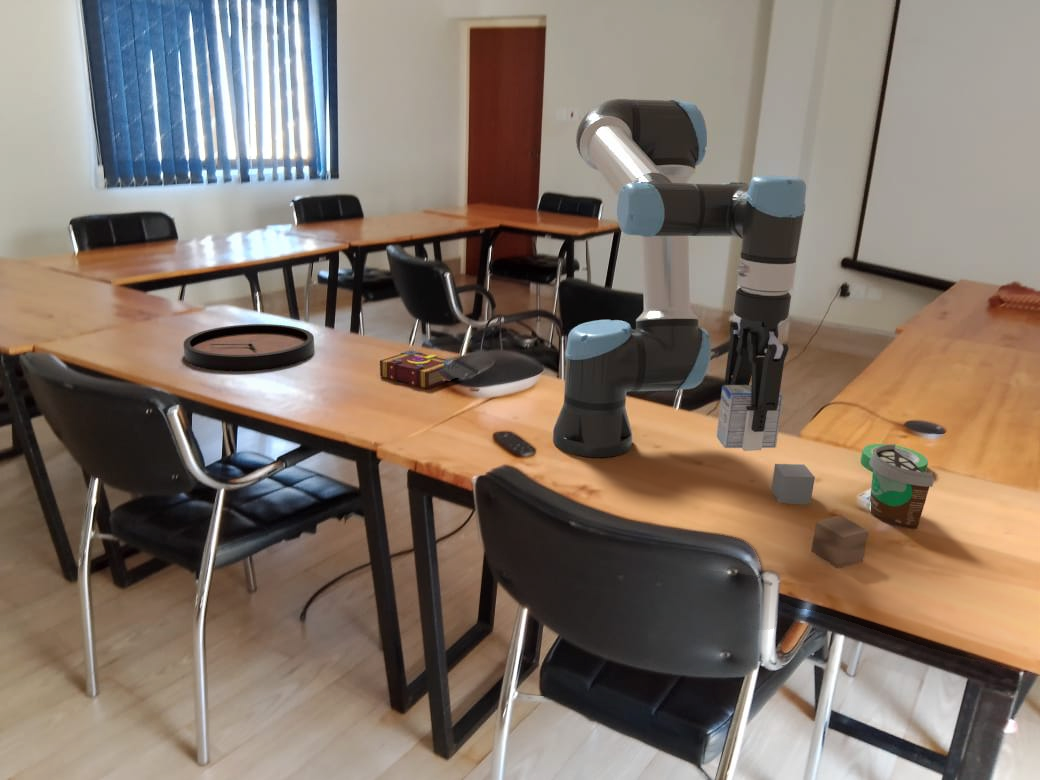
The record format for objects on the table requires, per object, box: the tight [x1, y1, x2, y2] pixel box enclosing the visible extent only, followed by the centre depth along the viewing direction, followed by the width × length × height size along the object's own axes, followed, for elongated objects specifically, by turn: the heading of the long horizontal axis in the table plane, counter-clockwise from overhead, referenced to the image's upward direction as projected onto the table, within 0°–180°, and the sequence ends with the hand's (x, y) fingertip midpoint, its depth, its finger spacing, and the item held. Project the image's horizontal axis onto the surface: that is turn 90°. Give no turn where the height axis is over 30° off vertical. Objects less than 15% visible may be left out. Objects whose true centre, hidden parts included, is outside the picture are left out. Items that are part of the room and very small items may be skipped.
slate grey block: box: [771, 463, 816, 505], centre depth 134 cm, size 5×5×5 cm
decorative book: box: [379, 349, 451, 390], centre depth 190 cm, size 11×16×5 cm
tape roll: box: [860, 443, 929, 473], centre depth 148 cm, size 11×11×3 cm
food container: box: [869, 443, 934, 530], centre depth 128 cm, size 12×6×10 cm, turn 4°
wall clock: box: [183, 323, 316, 373], centre depth 205 cm, size 31×4×31 cm
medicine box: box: [716, 384, 784, 449], centre depth 120 cm, size 8×4×9 cm, turn 94°
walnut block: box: [811, 515, 870, 569], centre depth 116 cm, size 5×5×5 cm
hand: (743, 441), depth 121 cm, fingers closed on medicine box, 5 cm apart
